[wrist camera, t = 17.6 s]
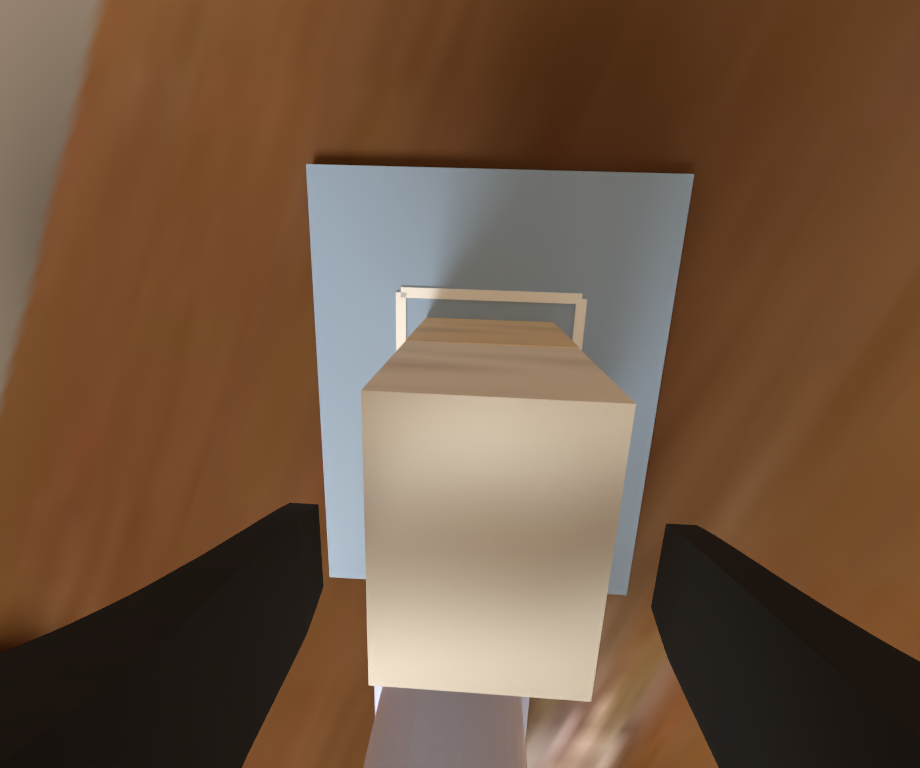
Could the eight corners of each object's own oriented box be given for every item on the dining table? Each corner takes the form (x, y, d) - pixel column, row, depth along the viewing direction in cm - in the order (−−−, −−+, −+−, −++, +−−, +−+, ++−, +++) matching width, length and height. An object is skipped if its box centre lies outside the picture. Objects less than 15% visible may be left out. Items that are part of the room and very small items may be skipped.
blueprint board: (622, 586, 22) (627, 596, 21) (333, 568, 22) (329, 578, 21) (686, 176, 17) (695, 173, 16) (311, 167, 17) (305, 163, 16)
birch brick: (556, 557, 15) (590, 701, 10) (405, 547, 15) (368, 685, 10) (579, 348, 13) (636, 404, 8) (405, 340, 13) (361, 390, 8)
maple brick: (539, 482, 20) (556, 556, 15) (424, 476, 20) (405, 547, 15) (553, 322, 18) (579, 347, 13) (426, 317, 18) (405, 340, 13)
